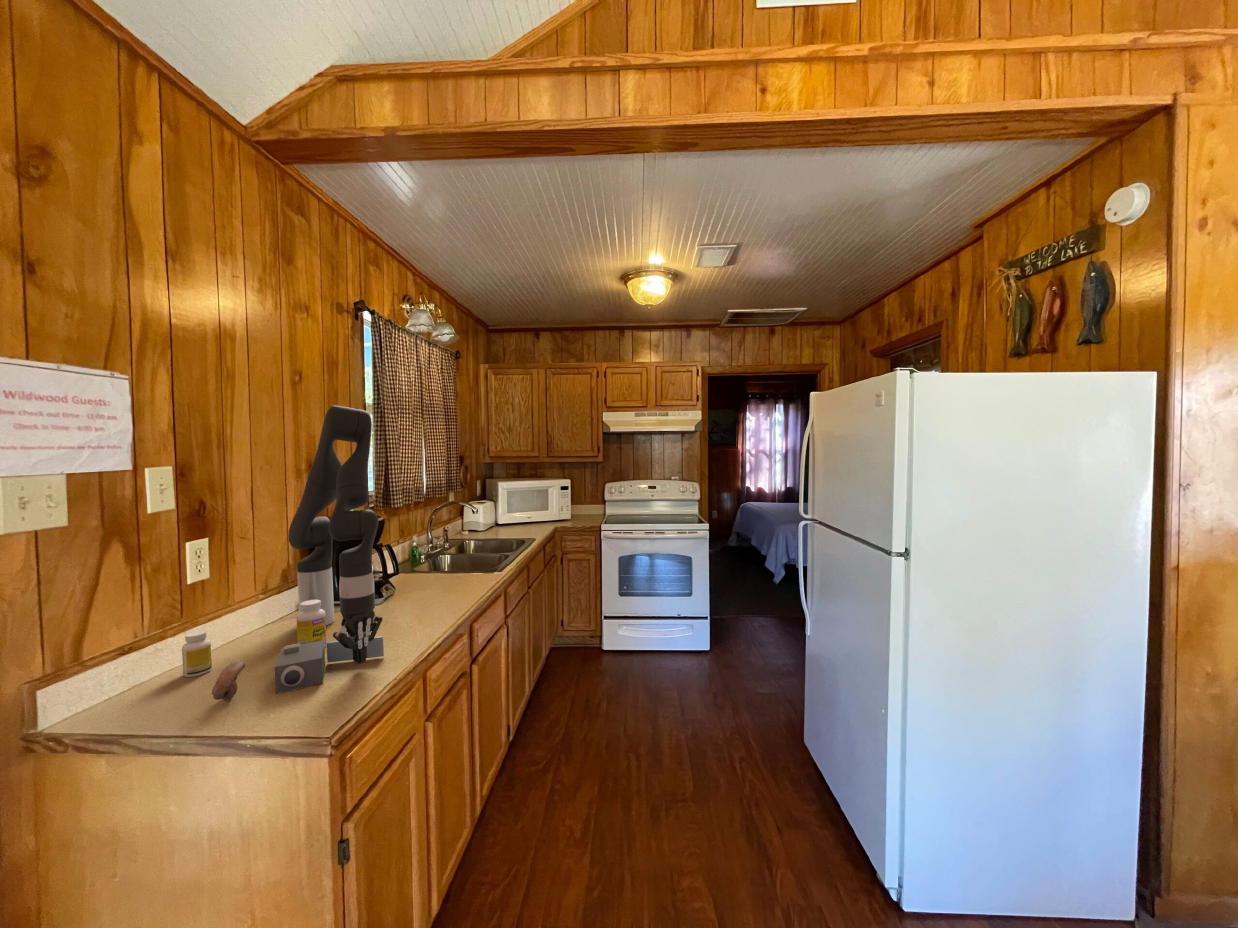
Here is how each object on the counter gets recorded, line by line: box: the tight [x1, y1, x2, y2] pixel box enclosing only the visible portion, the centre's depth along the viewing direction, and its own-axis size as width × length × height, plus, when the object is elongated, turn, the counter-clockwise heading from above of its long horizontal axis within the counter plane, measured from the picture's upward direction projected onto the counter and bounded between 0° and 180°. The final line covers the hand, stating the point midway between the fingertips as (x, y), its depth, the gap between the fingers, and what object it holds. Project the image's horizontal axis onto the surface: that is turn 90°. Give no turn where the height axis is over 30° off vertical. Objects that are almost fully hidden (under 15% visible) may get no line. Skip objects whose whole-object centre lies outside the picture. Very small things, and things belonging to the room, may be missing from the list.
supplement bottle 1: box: [181, 630, 213, 678], centre depth 122 cm, size 5×5×10 cm
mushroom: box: [211, 660, 246, 704], centre depth 108 cm, size 8×6×8 cm
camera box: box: [274, 641, 326, 694], centre depth 117 cm, size 14×9×7 cm, turn 28°
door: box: [326, 635, 385, 664], centre depth 127 cm, size 13×1×5 cm, turn 103°
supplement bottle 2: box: [296, 600, 327, 647], centre depth 135 cm, size 7×7×13 cm
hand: (360, 661), depth 122 cm, fingers closed
